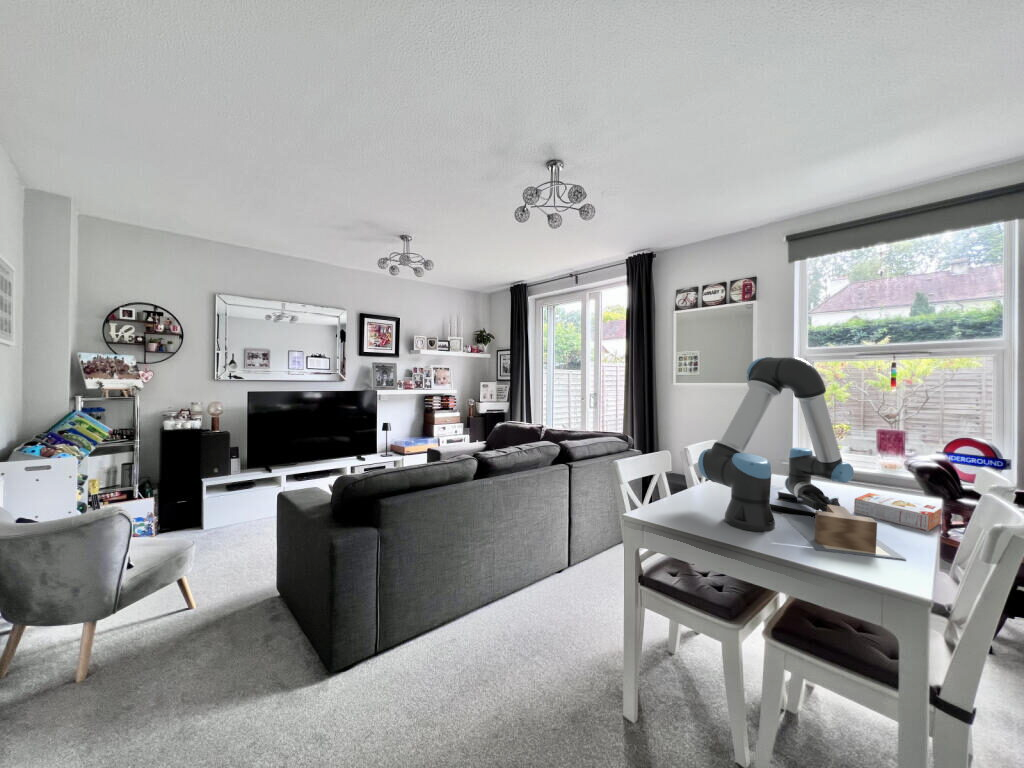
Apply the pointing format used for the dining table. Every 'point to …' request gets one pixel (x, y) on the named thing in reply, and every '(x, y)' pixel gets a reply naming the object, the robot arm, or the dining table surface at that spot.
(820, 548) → the mat
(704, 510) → the dining table surface
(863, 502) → the cracker box
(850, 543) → the t block
